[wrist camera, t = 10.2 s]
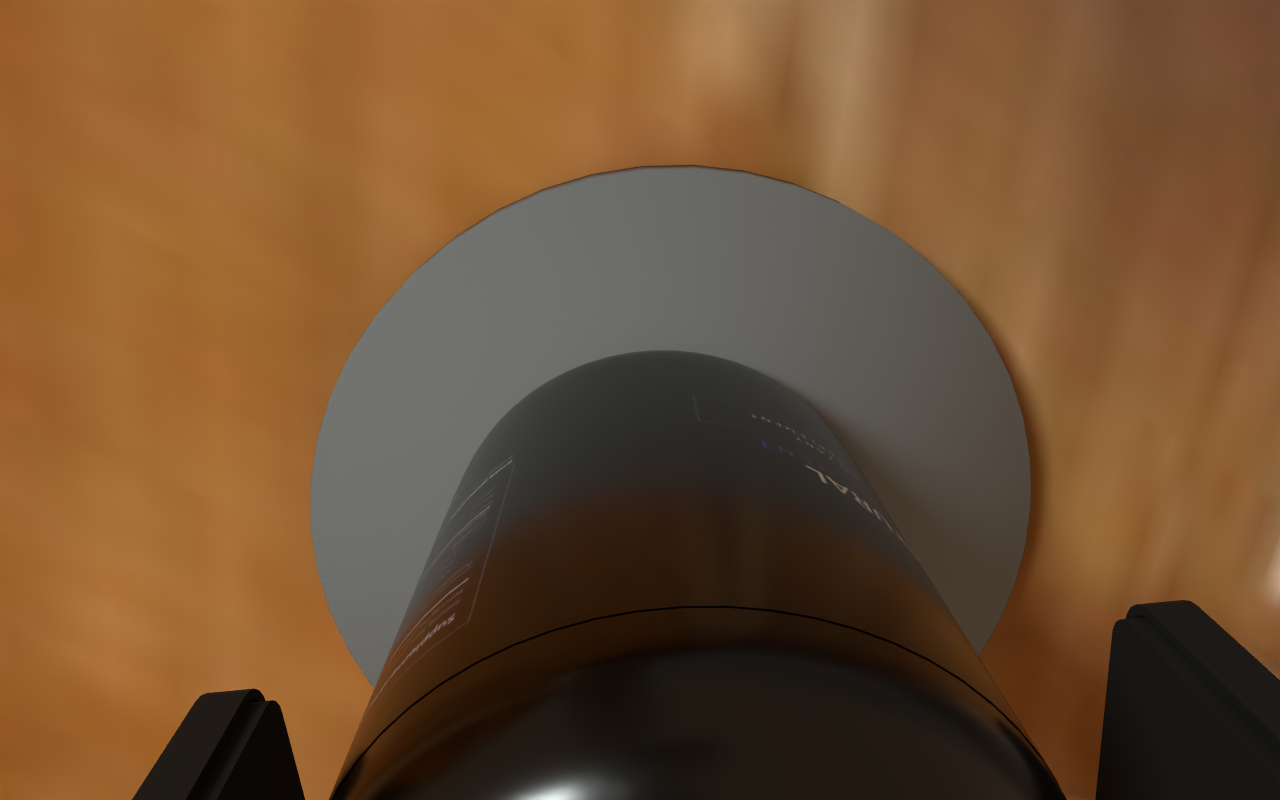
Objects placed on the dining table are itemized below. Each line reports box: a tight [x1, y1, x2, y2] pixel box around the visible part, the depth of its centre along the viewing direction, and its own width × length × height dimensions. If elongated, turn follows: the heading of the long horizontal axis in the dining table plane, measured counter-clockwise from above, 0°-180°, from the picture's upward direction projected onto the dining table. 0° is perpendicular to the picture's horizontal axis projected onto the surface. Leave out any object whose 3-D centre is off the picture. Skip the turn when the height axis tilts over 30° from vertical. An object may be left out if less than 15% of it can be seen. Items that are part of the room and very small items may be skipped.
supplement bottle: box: [329, 350, 1067, 800], centre depth 10 cm, size 7×7×12 cm
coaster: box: [311, 165, 1031, 688], centre depth 16 cm, size 12×12×1 cm
